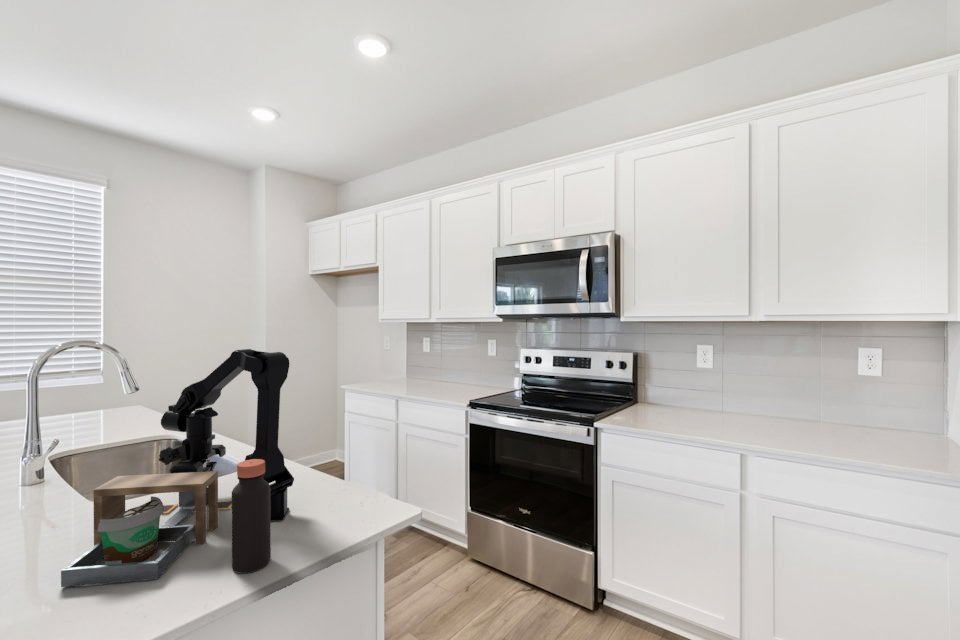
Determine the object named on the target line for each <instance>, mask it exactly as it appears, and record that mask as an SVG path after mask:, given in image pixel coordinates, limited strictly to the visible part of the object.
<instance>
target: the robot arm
mask: <svg viewBox="0 0 960 640" xmlns="http://www.w3.org/2000/svg"><path fill="white" fill-rule="evenodd" d="M289 369H290V359H289V357H287V355H286V354H285V353H284V352H281V351H276V352H275V351H274V352H267V351H259V350H254V349H251V348H245V349H237V350H234V351H232V352H231V353H230V356H228V358H226V359H225V360H224V361H223V362H222V363H220V365H218V367H216V368H215V369H214V370H212V371H211V373H210V374H209V375H207V376H206V377H205V378H203V379H201V380H199V381H195V382H193V383H191V384H190V385H188V386H186V387H185V388H183V390H182V391H181V394H180V396H179V398H178V400H177V402H176V403H175V404H171V405H168V407H167V410H166V411H165V412H164V414H163V415H162V416H161V419H160V425H161V427H162V429H164V430H166V431H169V432H170V431H171V432H179V433H185V434H186V436H185V437H186V438H185V439H183V440H182V441H181V444H179V445H176V446H173V447H170V446H169V447H166V448H162V450H160V451H159V455H158V456H159V458H158V462H161V463H162V464H164V466H167V465H170V464H171V463H173V462H175V461H178V460H180V462H178V463H176V464H174V466H172V467H171V468H170V469H169V470H168V471H169V472H168V474H169V473H188V472H208V471H214V470H215V466H216V465H217V464H218V462H217V461H212V459H211V458H212V457H213V456H215V455H218V457H219V458H223V457H224V456H225V455H226V452H227V451H226V448H227V447H226V446H225V445H223V444H213V440H215V439H216V434H215V433H214V434H213V418H214V417H217V416H218V415H219V413H218V412H217V411H216V410H215V409H213V407H212V405H214V404H215V403H216V402H217V401H218V399H219V398H220V397H221V396H222V395H221V394H222V390H223V389H224V388H225V387H226V386H227V385H229V383H231V382H232V381H233V380H234V379H235V378H236V377H238V376H239V375H240V374H241V373H242V372H243V371H246V372H249V373H250V375H251V376H250V377H251V380H252V382H253V383H254V386H255V387H256V389H257V401H256V402H257V403H256V405H257V407H256V428H255V430H256V431H255V432H256V433H255V448H254V451H253V452H252V453H251V454H247V455H246V456H245V458H244V461H245V460H251V459H262V460H264V461H265V475H264V476H263V479H264V480H265V481H266V482H268V483H269V485H270V520H271V522H278V521H279V522H280V521H283V520H285V518H286V517H287V515H288V512H289V511H290V507H288V488H290V487H293V484H294V481H295V477H294V476H293V474H292V473H291V472H290V471H289V469H288V468H287V467H286V466H285V457H284V454H283V453H282V451H281V449H280V448H279V429H280V427H279V426H280V425H279V424H280V407H281V406H280V405H281V402H280V401H281V388H282V387H283V385H284V384H285V382H286V380H287V378H288V374H289ZM208 406H209V407H208Z"/></svg>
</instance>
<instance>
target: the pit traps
mask: <svg viewBox="0 0 960 640" xmlns="http://www.w3.org/2000/svg"><path fill="white" fill-rule="evenodd" d="M163 507H164V512H163V514H162V515H169V514H170V513H171V512H172V511H173V510H175V509H176V508H177V507H179V503H178V504H177V503H176V504H163ZM231 510H232V500H222V501H218V512H219V511H220V512H221V511H231Z"/></svg>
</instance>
